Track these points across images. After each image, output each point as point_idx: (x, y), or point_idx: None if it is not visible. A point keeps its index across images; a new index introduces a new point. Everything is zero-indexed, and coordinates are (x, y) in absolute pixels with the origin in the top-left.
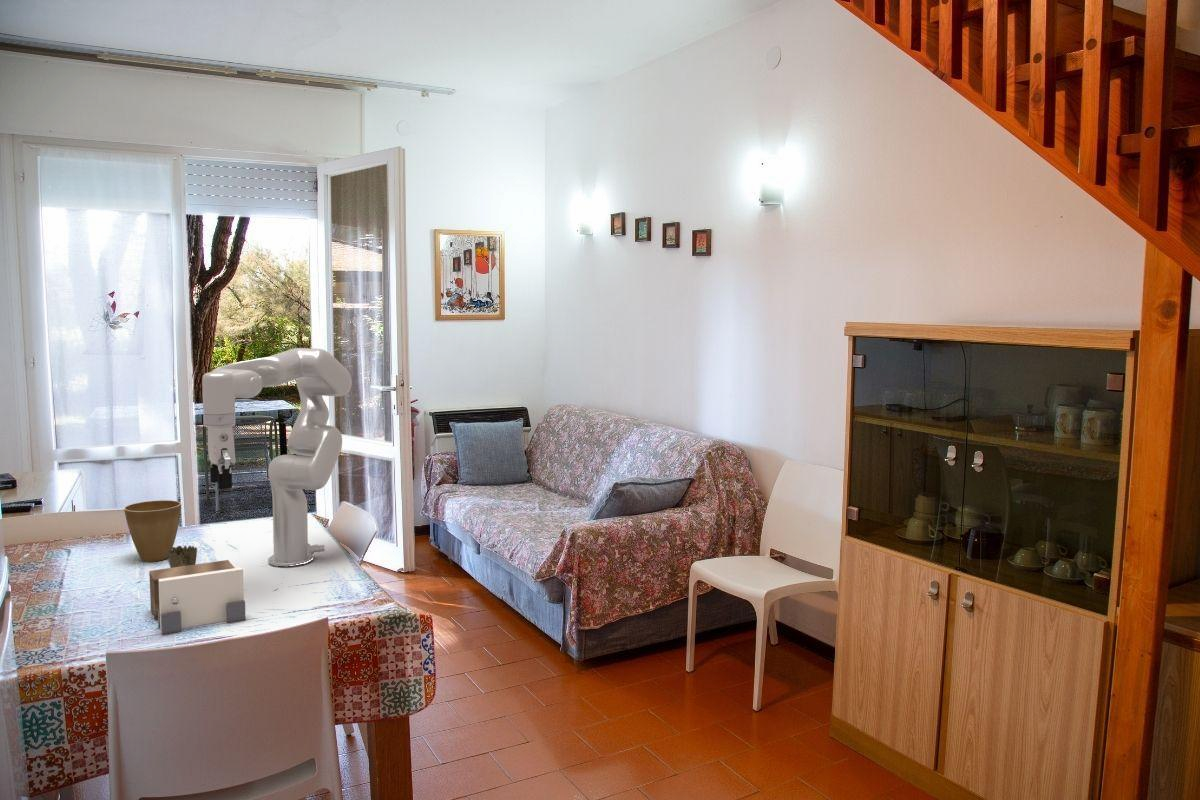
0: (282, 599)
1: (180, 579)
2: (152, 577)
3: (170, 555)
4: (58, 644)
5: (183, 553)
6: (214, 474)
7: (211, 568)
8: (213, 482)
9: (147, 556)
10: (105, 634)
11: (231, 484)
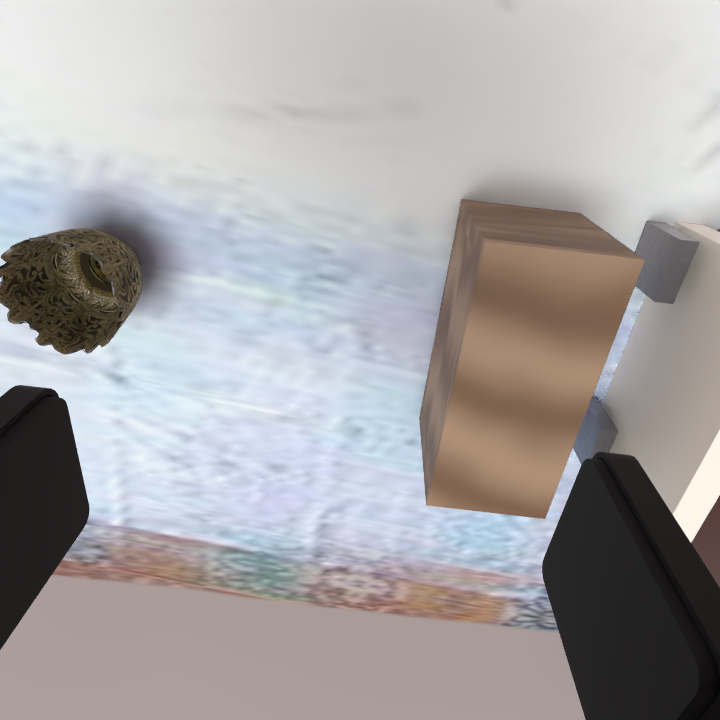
0: (645, 12)
1: (712, 502)
2: (507, 512)
3: (95, 341)
4: (512, 588)
5: (24, 270)
6: (13, 581)
7: (567, 342)
8: (80, 494)
9: None
10: (523, 523)
11: (653, 495)
